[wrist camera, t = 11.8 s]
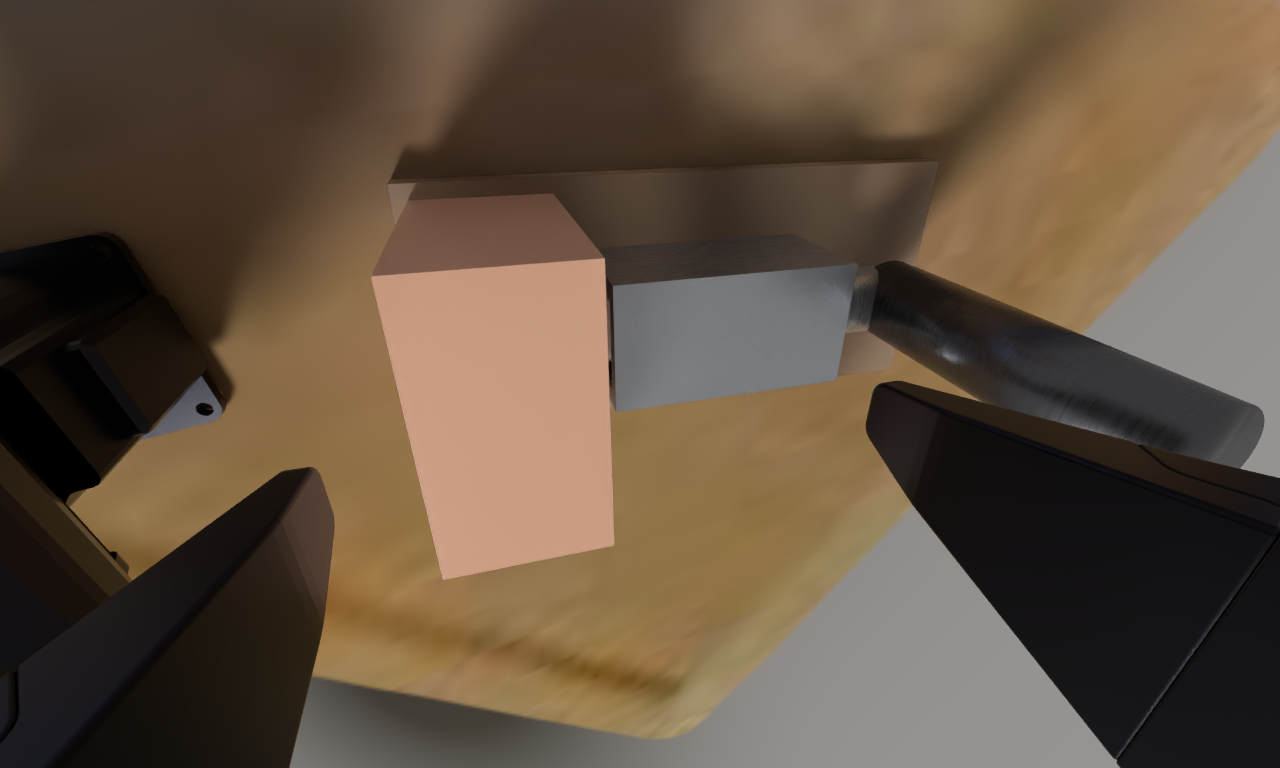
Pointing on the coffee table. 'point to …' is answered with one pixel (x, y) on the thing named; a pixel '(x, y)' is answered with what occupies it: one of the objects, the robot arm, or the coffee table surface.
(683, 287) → the grey rectangular block
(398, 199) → the base board
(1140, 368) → the black handled metal tool
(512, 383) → the socket
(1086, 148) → the coffee table surface
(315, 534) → the robot arm
